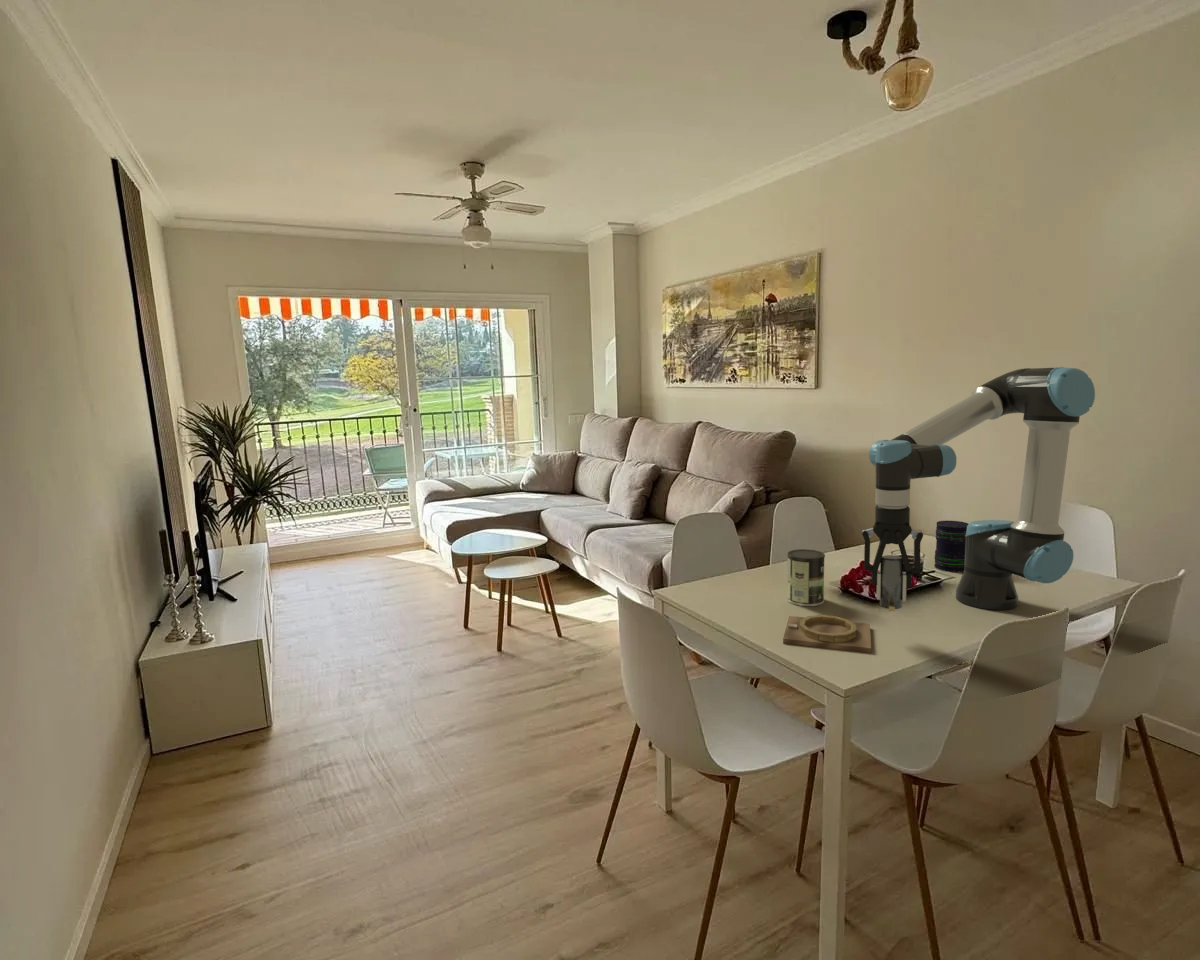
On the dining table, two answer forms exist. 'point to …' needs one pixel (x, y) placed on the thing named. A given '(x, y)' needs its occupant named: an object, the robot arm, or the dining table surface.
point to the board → (828, 633)
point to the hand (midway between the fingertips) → (891, 598)
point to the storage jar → (950, 546)
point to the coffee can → (806, 577)
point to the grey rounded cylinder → (891, 582)
